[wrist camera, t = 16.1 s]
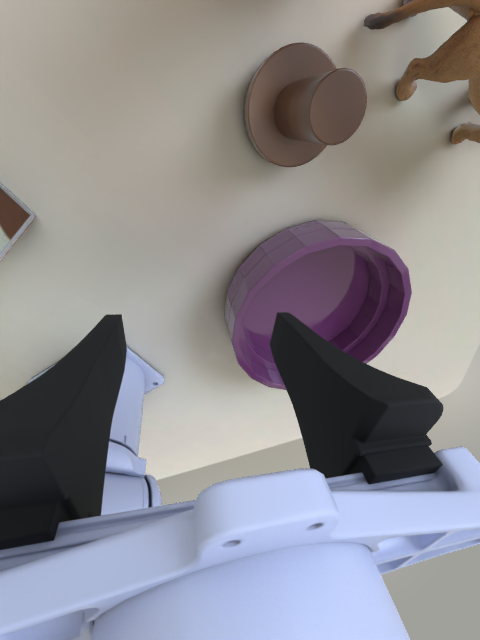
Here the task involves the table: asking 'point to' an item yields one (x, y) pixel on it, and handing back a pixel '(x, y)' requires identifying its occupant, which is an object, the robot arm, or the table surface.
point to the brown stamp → (301, 105)
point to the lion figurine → (443, 55)
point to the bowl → (317, 294)
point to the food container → (12, 220)
